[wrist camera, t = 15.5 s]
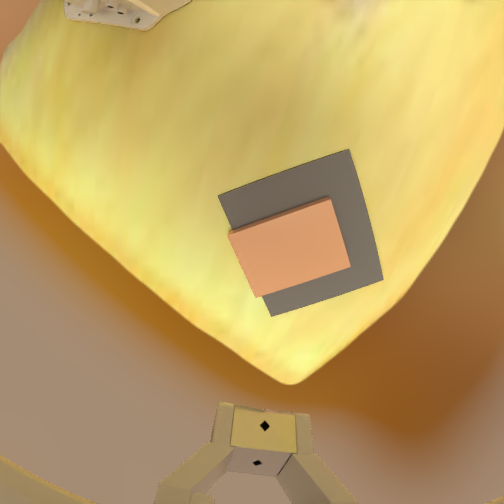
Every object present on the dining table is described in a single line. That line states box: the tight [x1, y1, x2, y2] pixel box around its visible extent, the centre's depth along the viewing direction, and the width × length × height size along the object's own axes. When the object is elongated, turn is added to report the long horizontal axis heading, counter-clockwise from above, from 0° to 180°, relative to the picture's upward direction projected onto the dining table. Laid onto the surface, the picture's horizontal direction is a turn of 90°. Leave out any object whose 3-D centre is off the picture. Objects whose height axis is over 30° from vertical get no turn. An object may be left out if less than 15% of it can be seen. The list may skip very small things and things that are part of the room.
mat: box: [218, 149, 383, 317], centre depth 43 cm, size 18×20×1 cm
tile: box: [228, 196, 351, 298], centre depth 43 cm, size 2×10×14 cm
